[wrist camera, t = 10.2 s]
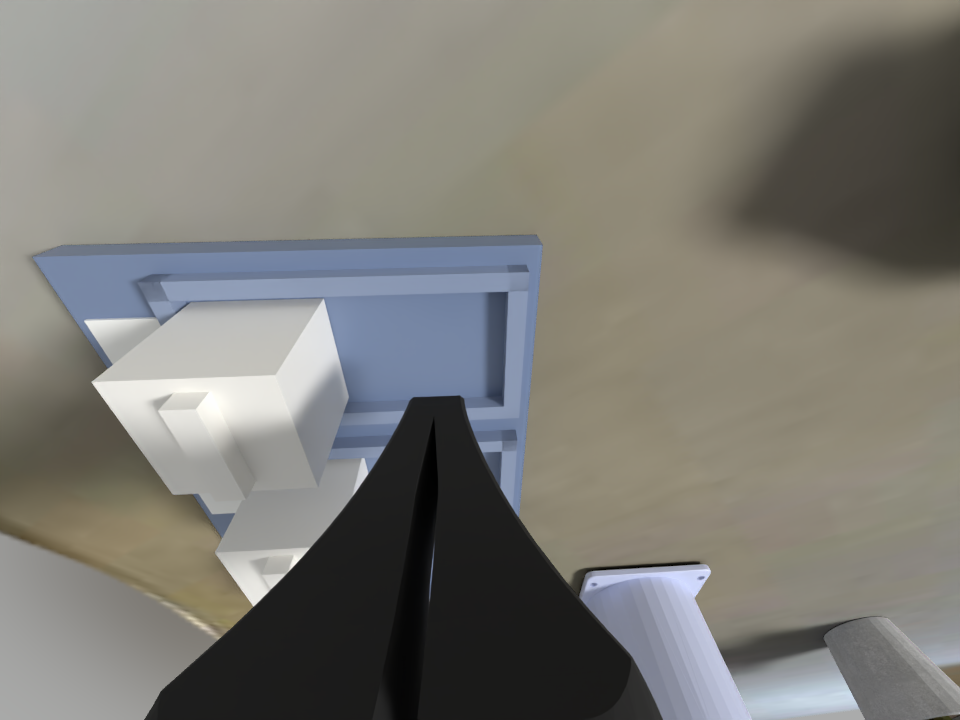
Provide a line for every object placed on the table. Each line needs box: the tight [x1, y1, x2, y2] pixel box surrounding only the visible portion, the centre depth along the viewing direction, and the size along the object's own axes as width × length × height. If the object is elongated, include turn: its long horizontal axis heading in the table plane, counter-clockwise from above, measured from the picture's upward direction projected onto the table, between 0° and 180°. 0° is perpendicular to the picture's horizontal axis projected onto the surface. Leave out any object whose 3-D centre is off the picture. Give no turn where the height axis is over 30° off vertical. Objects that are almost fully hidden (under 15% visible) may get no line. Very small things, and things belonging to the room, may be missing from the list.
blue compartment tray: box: [33, 235, 543, 600], centre depth 17 cm, size 21×14×2 cm
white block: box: [215, 458, 368, 606], centre depth 15 cm, size 4×4×5 cm
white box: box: [92, 298, 349, 502], centre depth 11 cm, size 4×4×5 cm
